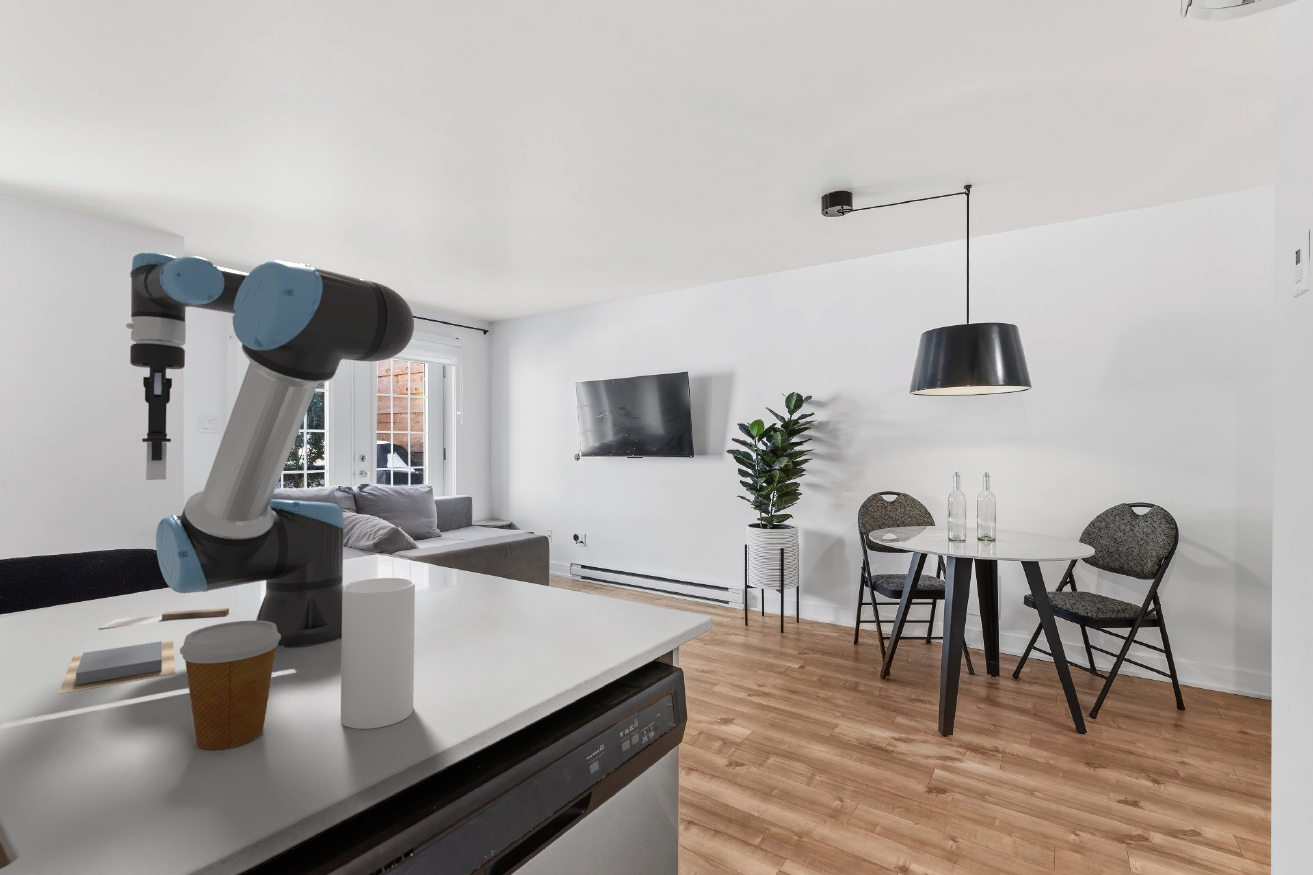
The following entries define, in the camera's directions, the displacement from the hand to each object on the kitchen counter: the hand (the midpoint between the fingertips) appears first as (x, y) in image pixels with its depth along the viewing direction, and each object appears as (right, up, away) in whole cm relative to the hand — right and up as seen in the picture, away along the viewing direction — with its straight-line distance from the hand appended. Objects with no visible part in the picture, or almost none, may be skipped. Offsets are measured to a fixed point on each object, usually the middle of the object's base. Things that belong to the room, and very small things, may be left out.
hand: (156, 479), depth 111 cm
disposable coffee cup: (+39, -27, -39) cm, 62 cm away
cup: (+53, -27, -33) cm, 68 cm away
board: (+10, -26, -18) cm, 34 cm away
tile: (+8, -25, -16) cm, 31 cm away
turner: (-3, -27, +5) cm, 27 cm away
